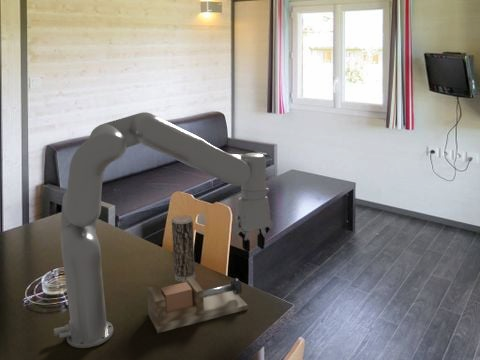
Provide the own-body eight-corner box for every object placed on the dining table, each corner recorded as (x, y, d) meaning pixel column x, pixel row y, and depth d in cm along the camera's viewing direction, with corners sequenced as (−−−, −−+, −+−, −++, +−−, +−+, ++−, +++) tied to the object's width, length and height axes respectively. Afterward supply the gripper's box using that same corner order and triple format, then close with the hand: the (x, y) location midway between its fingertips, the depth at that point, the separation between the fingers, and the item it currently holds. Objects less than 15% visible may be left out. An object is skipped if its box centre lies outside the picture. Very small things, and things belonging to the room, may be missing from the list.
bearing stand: (157, 333, 130) (155, 303, 127) (148, 314, 139) (146, 286, 137) (247, 309, 141) (247, 281, 139) (232, 293, 151) (232, 267, 148)
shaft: (195, 308, 137) (194, 293, 135) (189, 300, 141) (189, 286, 140) (241, 296, 143) (241, 282, 142) (235, 289, 147) (234, 275, 146)
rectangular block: (167, 319, 133) (165, 295, 131) (162, 311, 138) (160, 287, 136) (192, 313, 137) (191, 289, 135) (187, 305, 141) (186, 282, 139)
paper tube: (185, 281, 159) (182, 213, 153) (199, 287, 155) (196, 218, 149) (171, 288, 154) (167, 219, 148) (185, 295, 150) (181, 224, 144)
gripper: (271, 187, 146) (271, 240, 150) (223, 194, 139) (224, 249, 143) (283, 193, 139) (282, 248, 144) (233, 200, 132) (234, 258, 137)
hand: (253, 248), depth 144 cm, fingers open, 4 cm apart
